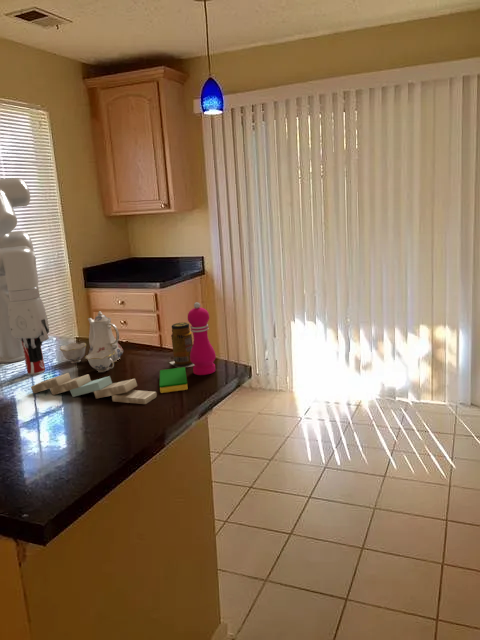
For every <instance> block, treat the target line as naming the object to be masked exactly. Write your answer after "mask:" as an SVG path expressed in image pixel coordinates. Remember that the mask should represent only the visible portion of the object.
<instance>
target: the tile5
mask: <svg viewBox="0 0 480 640" xmlns="http://www.w3.org/2000/svg"><path fill="white" fill-rule="evenodd" d="M157 395H158V394H157V391H151V390H150V391H148V390H138V389H137V390H136V389H131V390H130V391H128V392H126V393H121V394H116V395H112V396H111V400H112V402H116V403H117V402H118V403H127V404H129V403H130V404H140V405H147V404H148V403H151V401H152V400H154V399H156V398H157V397H158V396H157Z"/></svg>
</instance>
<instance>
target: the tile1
mask: <svg viewBox="0 0 480 640" xmlns="http://www.w3.org/2000/svg"><path fill="white" fill-rule="evenodd" d="M71 379H72V378H71V376H70V372H66V373H62V374H61V375H60V374H59V375H57V376H54V377H52V378H48V379H45V380H43V381H40V382H38V383H36V384H34V385H31V386H30V388H31V391H32V393H34V394H37V393H39V392H43V391H46V390H50V388H53V387H56V386H59V385H61V384H63V383H65V382H67V381H69V380H71Z"/></svg>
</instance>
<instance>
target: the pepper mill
mask: <svg viewBox="0 0 480 640" xmlns="http://www.w3.org/2000/svg"><path fill="white" fill-rule="evenodd" d="M193 307H194V308H192V309H191V310H189V311H188V313H187V321H188V324H189V325H190V332H191V333H192V337H193V341H192V342H193V346H192V349H191V353H190V360H191V362H192V363H193V364H194V366H192V370H193V372H192V373H193V374H194V375H197V376H206V375H210V374H211V375H212V374H213V373H215V372H216V364H215V363H214V362H215V360H216V358H217V355H216V351H215V348H214V346H213V345H212V344H211V342H210V340H209V335H208V330H209V329H210V328H209V324H208V323H209V320H210V314H209V311H208V310H207V309H206V308H204V307H201V303H200V302H197V301H196V302H195V303H194V304H193Z"/></svg>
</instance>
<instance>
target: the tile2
mask: <svg viewBox="0 0 480 640" xmlns="http://www.w3.org/2000/svg"><path fill="white" fill-rule="evenodd" d="M90 381H92V380H91V376H90V374H84V375H82V376H78V377H75V378H71V380H69V381H67V382H65V383H63V384H61V385H59V386H56V387H53V388H50V389H49V390H50V392H51V395H52V396H54V395H58V394H61V393H62V394H63V393H65V392H70V390H72V389H75V388H78V387H80V386H82V385H84V384H86V383H88V382H90Z"/></svg>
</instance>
